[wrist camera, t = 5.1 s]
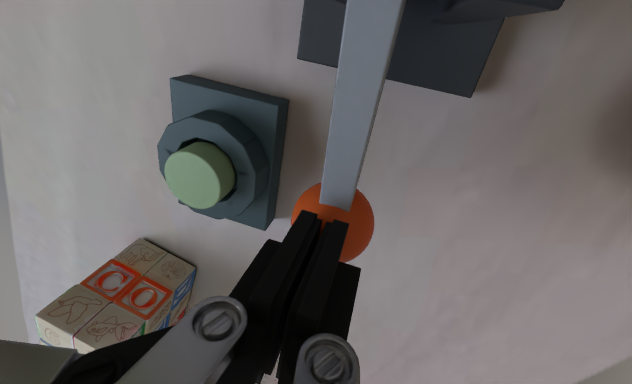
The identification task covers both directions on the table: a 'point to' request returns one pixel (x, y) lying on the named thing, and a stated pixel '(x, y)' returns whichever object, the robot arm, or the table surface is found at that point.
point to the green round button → (200, 175)
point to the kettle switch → (354, 120)
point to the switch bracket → (423, 38)
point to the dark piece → (231, 142)
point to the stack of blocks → (119, 300)
